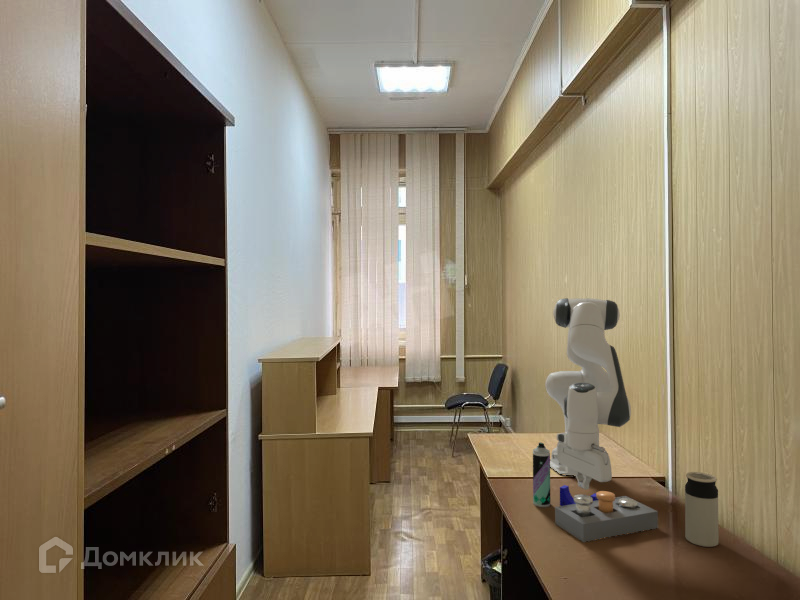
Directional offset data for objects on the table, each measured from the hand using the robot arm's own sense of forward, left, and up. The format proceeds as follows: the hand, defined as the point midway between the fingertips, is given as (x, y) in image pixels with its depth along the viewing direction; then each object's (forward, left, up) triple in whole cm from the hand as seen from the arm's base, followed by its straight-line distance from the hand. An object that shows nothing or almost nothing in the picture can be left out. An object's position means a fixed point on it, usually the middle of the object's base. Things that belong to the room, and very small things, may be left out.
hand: (583, 487), depth 155 cm
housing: (0, +8, -12) cm, 15 cm away
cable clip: (-14, +10, -13) cm, 21 cm away
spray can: (-21, 0, -13) cm, 25 cm away
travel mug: (+17, +26, -13) cm, 33 cm away
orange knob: (0, +8, -9) cm, 12 cm away
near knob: (0, 0, -9) cm, 9 cm away
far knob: (0, +16, -13) cm, 20 cm away
